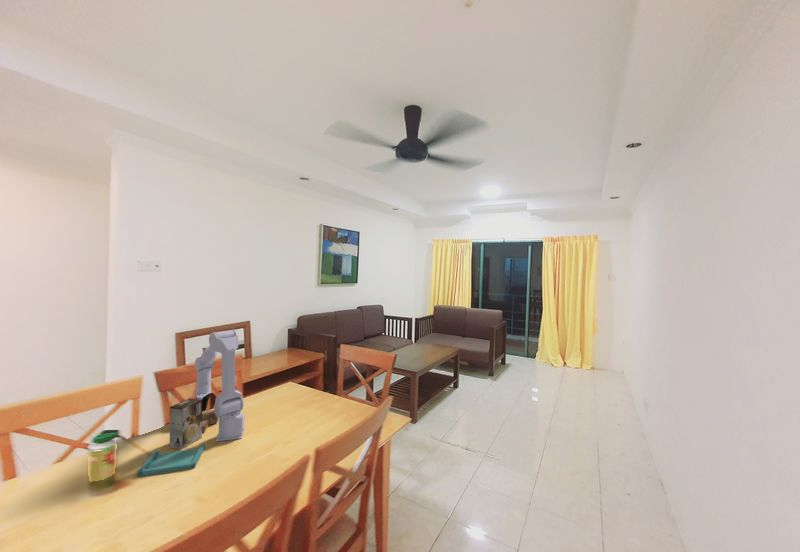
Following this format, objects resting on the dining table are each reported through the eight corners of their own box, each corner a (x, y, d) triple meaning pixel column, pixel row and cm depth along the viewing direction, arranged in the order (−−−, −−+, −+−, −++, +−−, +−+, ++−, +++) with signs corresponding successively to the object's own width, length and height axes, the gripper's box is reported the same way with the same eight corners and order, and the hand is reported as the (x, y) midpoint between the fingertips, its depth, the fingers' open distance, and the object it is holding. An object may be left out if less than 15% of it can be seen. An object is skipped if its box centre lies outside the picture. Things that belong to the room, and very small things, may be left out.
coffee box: (189, 435, 128) (190, 397, 128) (202, 437, 127) (203, 399, 127) (168, 447, 119) (169, 406, 119) (182, 450, 118) (183, 408, 118)
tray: (205, 448, 120) (205, 443, 120) (194, 468, 107) (194, 463, 107) (154, 454, 115) (154, 450, 114) (137, 477, 102) (137, 472, 102)
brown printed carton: (218, 420, 141) (218, 409, 141) (212, 431, 132) (213, 419, 132) (177, 424, 136) (177, 413, 136) (168, 436, 126) (168, 424, 126)
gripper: (198, 377, 151) (198, 405, 151) (189, 388, 137) (188, 418, 137) (215, 376, 153) (214, 403, 153) (207, 387, 140) (206, 416, 140)
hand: (203, 410), depth 146 cm, fingers closed
